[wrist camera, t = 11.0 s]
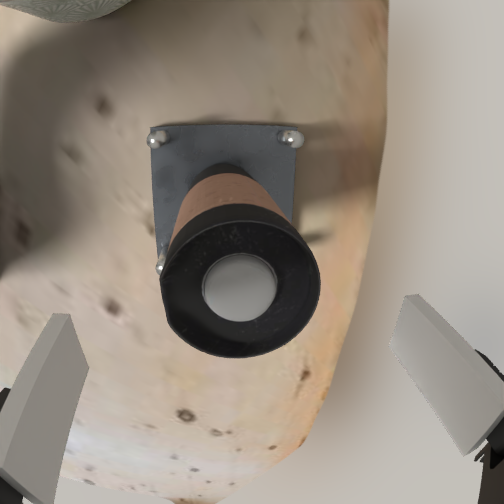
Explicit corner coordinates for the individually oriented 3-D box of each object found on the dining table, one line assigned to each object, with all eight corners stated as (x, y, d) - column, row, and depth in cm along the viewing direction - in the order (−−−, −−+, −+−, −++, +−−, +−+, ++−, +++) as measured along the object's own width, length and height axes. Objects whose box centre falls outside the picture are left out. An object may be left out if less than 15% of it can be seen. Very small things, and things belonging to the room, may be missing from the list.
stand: (160, 257, 35) (153, 280, 30) (153, 127, 29) (142, 127, 24) (285, 253, 37) (298, 274, 32) (293, 126, 31) (308, 127, 26)
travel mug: (273, 193, 32) (354, 287, 14) (225, 244, 34) (246, 381, 16) (220, 145, 30) (237, 176, 12) (171, 200, 31) (124, 306, 13)
